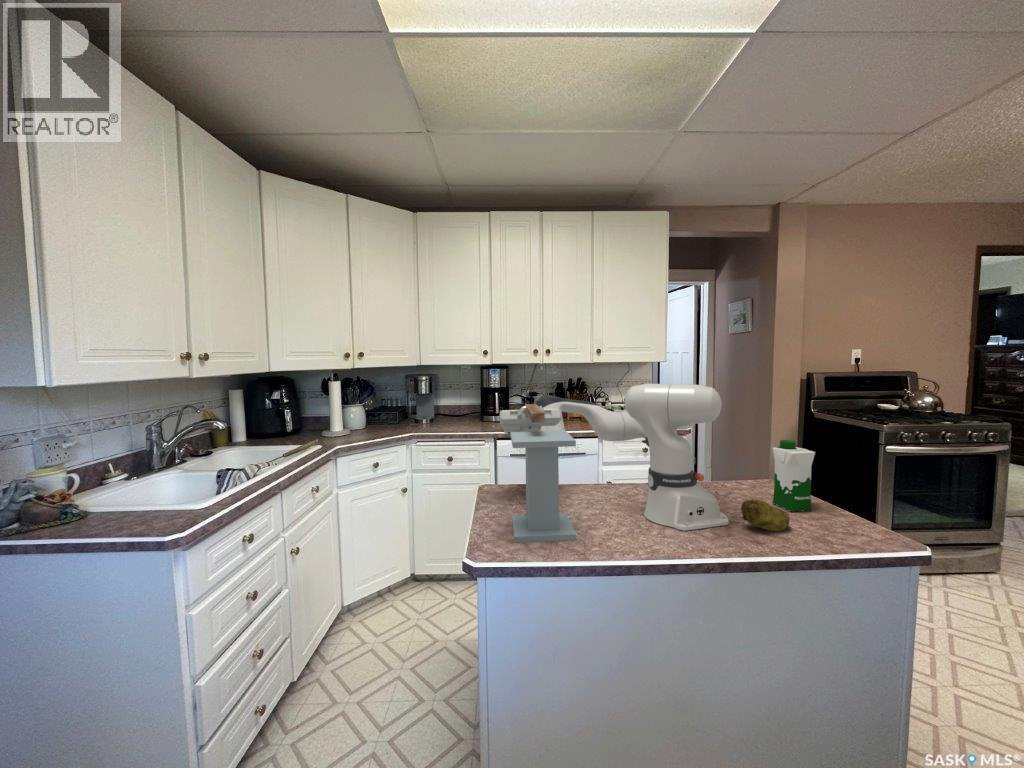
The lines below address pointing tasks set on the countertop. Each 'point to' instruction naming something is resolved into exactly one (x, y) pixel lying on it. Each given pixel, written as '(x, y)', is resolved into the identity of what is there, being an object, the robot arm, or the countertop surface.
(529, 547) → the countertop surface
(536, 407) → the block
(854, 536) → the countertop surface
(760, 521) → the potato
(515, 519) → the stand
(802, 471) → the milk carton
